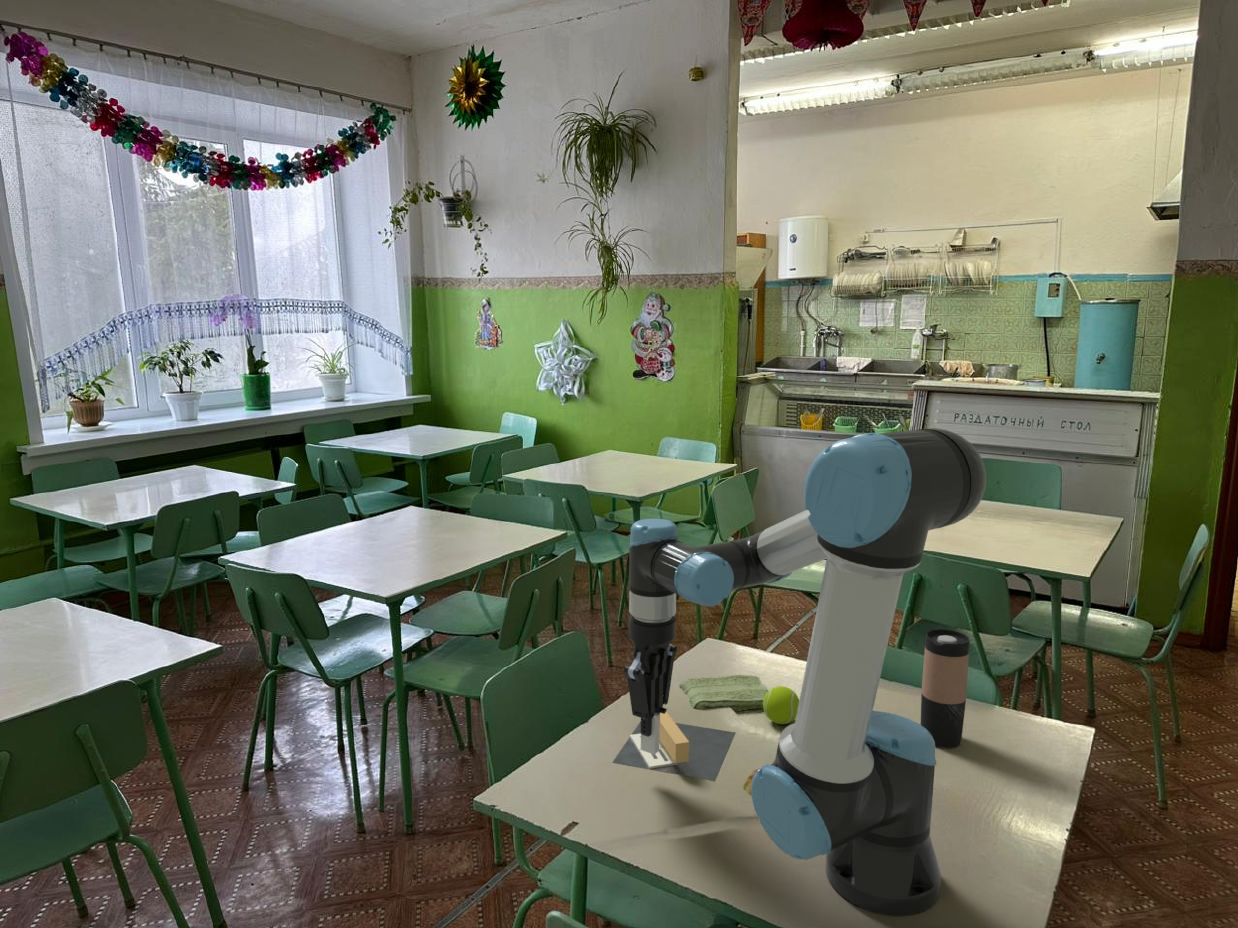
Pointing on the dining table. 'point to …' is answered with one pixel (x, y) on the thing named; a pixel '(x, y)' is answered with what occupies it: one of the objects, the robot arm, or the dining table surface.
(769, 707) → the tennis ball
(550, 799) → the dining table surface
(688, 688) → the washcloth
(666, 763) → the label
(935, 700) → the travel mug
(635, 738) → the label
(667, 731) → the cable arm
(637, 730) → the chassis plate
